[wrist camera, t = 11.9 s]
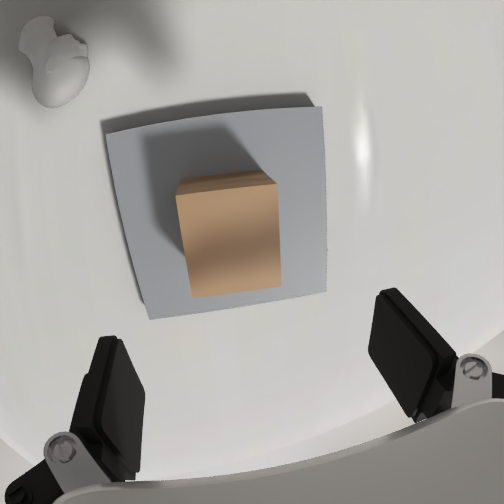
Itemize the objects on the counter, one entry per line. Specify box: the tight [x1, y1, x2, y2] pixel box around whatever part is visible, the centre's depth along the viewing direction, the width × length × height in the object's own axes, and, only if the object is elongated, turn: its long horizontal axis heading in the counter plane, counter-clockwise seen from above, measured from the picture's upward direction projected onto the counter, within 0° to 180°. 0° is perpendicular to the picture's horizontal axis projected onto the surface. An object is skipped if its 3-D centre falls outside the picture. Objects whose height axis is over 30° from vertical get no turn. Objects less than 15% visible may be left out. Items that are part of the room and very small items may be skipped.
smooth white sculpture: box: [18, 15, 90, 108], centre depth 17 cm, size 4×8×5 cm
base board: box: [106, 107, 327, 320], centre depth 25 cm, size 16×16×2 cm
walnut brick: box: [175, 170, 282, 298], centre depth 22 cm, size 7×6×5 cm
